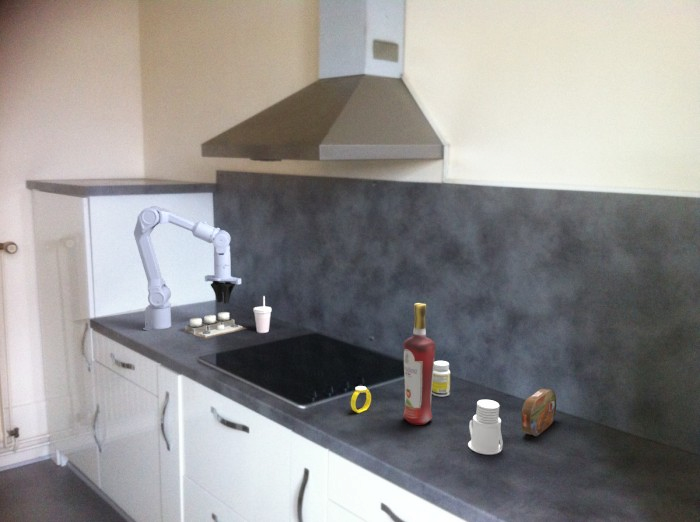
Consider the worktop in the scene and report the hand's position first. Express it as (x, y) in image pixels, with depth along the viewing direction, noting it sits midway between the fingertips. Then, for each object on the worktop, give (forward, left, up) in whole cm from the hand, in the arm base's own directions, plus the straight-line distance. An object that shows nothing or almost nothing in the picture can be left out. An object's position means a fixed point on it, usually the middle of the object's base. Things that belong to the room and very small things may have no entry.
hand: (223, 302), depth 232 cm
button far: (0, 0, -6) cm, 6 cm away
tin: (+124, -7, -10) cm, 124 cm away
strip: (+6, -6, -8) cm, 12 cm away
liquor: (+101, -22, -10) cm, 103 cm away
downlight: (+120, -24, -10) cm, 122 cm away
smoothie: (+17, +4, -10) cm, 20 cm away
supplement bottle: (+95, -3, -10) cm, 95 cm away
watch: (+87, -26, -10) cm, 91 cm away
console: (+3, -6, -10) cm, 12 cm away
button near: (0, -12, -6) cm, 13 cm away
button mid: (0, -6, -6) cm, 9 cm away
